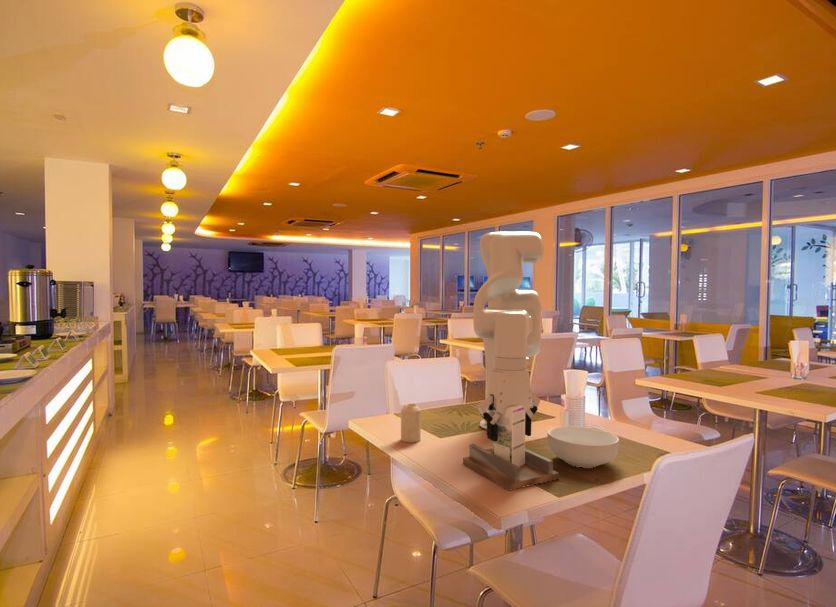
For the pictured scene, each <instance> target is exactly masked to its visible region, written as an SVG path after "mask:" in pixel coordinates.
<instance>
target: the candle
mask: <svg viewBox="0 0 836 607" xmlns="http://www.w3.org/2000/svg"><path fill="white" fill-rule="evenodd" d="M421 413H422V410H421V408H420V407H419V406H417V405H416V404H415V403H408V404H404V405H403V407H402V408H401V409H400V439H401V441H402V442H403V443H413V444H414V443H418V442H420V441H421V431H422V430H421V429H422V428H421V427H422V426H421V423H422V422H421V421H422V420H421Z"/></svg>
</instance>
